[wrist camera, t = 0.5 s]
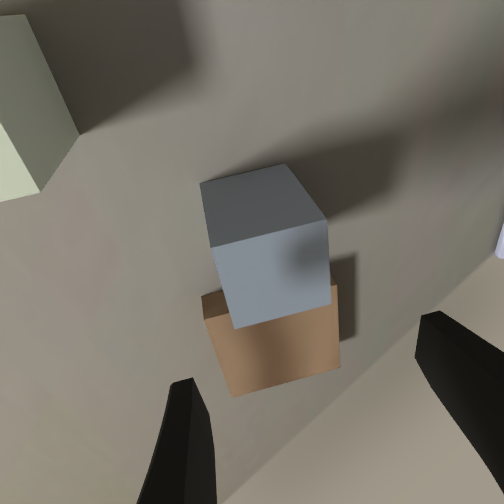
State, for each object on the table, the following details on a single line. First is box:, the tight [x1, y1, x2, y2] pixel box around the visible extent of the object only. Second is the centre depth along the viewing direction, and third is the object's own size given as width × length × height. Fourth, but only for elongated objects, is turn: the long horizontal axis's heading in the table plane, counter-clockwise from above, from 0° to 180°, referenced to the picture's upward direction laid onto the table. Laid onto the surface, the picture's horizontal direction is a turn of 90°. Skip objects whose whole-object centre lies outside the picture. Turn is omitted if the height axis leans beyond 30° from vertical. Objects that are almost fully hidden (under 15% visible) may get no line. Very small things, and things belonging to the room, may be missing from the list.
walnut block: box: [201, 274, 340, 398], centre depth 24 cm, size 8×8×2 cm
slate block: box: [200, 163, 331, 330], centre depth 17 cm, size 4×4×6 cm
